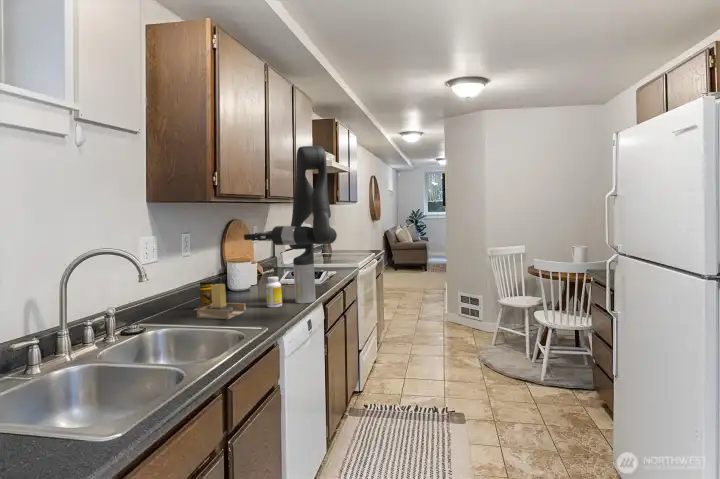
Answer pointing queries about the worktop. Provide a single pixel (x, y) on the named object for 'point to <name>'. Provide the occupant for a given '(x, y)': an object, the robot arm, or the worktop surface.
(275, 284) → the supplement bottle
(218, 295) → the yellow upright block
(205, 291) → the condiment
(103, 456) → the worktop surface
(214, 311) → the walled box
